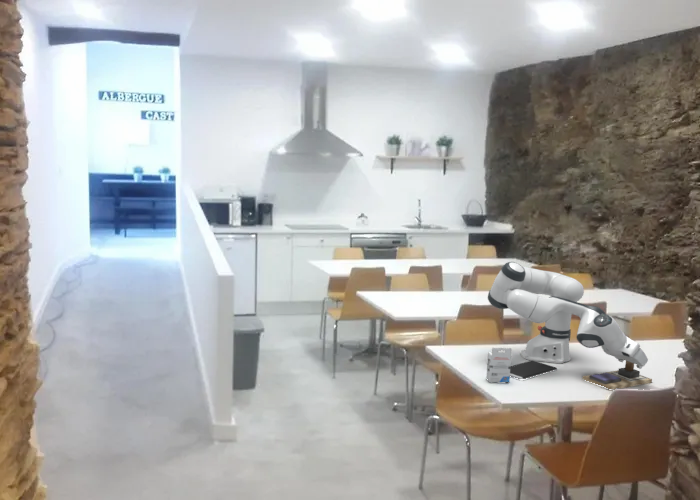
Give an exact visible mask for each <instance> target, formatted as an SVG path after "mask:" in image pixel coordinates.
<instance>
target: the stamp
mask: <svg viewBox="0 0 700 500" xmlns="http://www.w3.org/2000/svg"><path fill="white" fill-rule="evenodd" d="M634 368H635V364H634V363H631V362H628V361H626V360H625V365H624V367H621V368H620V367H619V368H618V369H617V370H618V374H619V375H621V376H624V377H627V378H629V379H630V378H636V377H639V375H641V374H640V372H641V371H640V370H638V369H634Z"/></svg>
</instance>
